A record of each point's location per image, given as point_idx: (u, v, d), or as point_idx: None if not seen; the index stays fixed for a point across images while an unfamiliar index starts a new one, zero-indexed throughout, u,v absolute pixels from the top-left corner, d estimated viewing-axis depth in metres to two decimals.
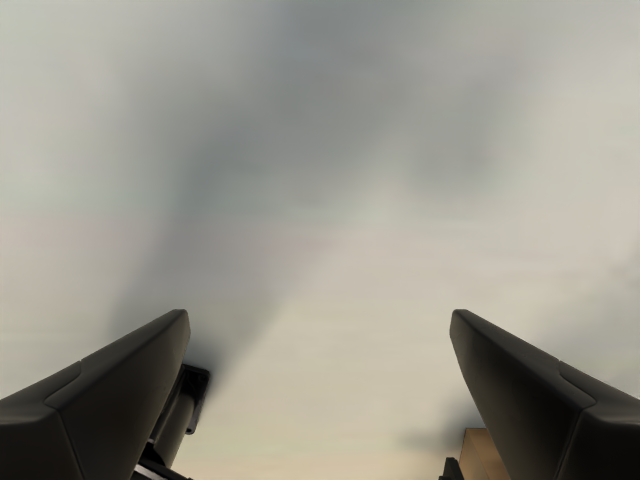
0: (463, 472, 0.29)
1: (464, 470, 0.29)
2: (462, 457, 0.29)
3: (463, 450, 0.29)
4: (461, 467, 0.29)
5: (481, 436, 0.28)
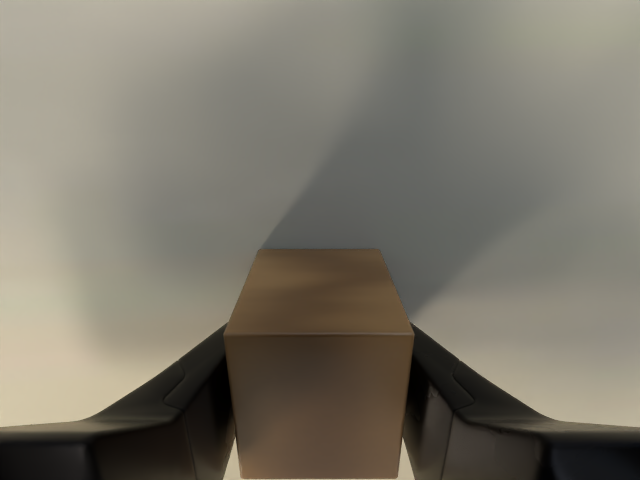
0: None
1: None
2: None
3: None
4: None
5: (283, 257, 0.11)
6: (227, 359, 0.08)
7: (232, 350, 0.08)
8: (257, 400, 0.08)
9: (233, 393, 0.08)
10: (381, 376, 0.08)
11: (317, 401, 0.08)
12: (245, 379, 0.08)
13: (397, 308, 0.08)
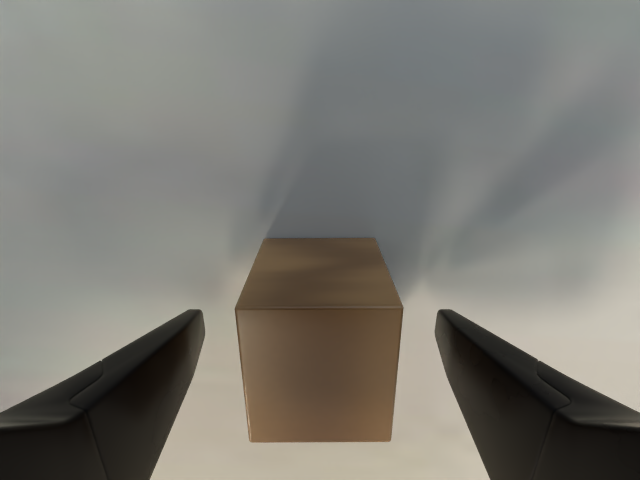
0: None
1: None
2: None
3: None
4: None
5: (286, 245, 0.12)
6: (238, 331, 0.09)
7: (243, 322, 0.09)
8: (264, 368, 0.09)
9: (243, 362, 0.09)
10: (374, 345, 0.09)
11: (318, 369, 0.09)
12: (254, 349, 0.09)
13: (389, 287, 0.09)
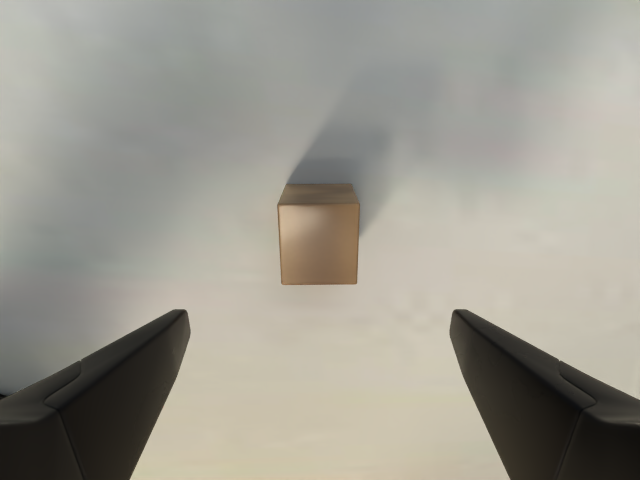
0: None
1: None
2: None
3: None
4: None
5: (299, 186, 0.21)
6: (278, 217, 0.18)
7: (281, 212, 0.18)
8: (291, 238, 0.18)
9: (280, 234, 0.18)
10: (346, 225, 0.18)
11: (318, 239, 0.18)
12: (286, 227, 0.18)
13: (354, 198, 0.18)
